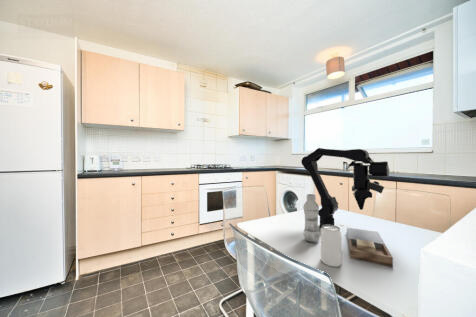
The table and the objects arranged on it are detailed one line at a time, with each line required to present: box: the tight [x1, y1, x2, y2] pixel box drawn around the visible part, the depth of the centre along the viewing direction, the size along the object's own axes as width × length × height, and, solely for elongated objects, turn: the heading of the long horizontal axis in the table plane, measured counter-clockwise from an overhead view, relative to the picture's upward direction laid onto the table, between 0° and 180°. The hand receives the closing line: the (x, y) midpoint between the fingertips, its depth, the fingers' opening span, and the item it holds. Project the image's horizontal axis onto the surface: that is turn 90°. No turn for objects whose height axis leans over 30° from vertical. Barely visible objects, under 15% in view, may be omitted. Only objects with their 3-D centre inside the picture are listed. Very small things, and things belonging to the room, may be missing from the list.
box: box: [347, 239, 394, 267], centre depth 69 cm, size 12×11×3 cm
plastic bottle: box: [303, 193, 320, 243], centre depth 81 cm, size 6×7×20 cm
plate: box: [346, 227, 386, 250], centre depth 80 cm, size 12×14×3 cm
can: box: [320, 224, 343, 268], centre depth 64 cm, size 6×6×12 cm
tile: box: [356, 239, 375, 253], centre depth 71 cm, size 6×6×2 cm
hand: (361, 209), depth 87 cm, fingers closed
